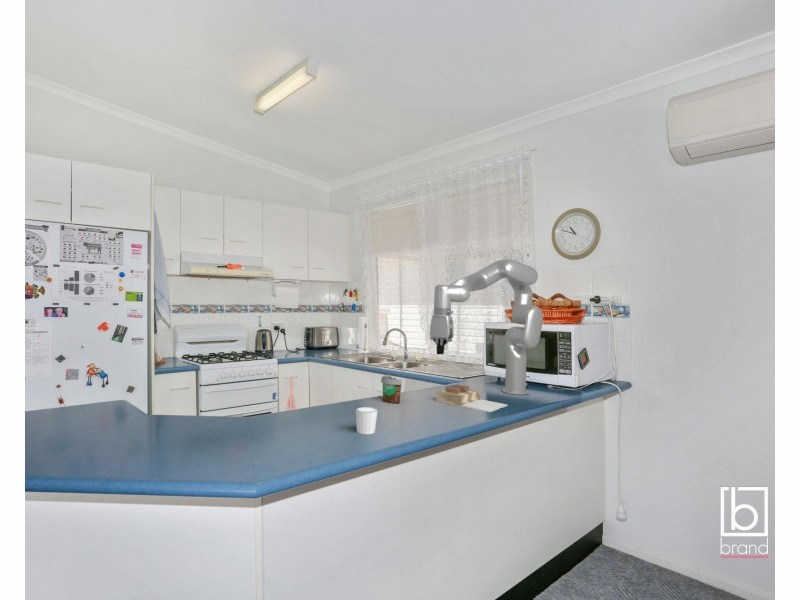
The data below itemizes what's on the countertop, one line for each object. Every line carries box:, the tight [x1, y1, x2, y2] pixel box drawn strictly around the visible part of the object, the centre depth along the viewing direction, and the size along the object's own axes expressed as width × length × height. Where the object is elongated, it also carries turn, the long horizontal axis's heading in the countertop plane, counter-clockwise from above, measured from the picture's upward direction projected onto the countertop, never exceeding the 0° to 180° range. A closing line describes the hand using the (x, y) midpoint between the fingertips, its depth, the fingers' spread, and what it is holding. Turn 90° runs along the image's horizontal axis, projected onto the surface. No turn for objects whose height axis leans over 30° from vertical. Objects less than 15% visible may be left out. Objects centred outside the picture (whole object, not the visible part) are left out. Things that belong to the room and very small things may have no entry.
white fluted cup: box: [355, 406, 379, 435], centre depth 139 cm, size 7×7×7 cm
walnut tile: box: [445, 384, 470, 394], centre depth 189 cm, size 9×6×2 cm, turn 141°
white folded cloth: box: [461, 398, 508, 413], centre depth 180 cm, size 16×12×1 cm
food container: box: [380, 374, 403, 405], centre depth 181 cm, size 12×6×10 cm, turn 25°
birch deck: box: [435, 388, 481, 407], centre depth 188 cm, size 16×12×4 cm
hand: (440, 354), depth 194 cm, fingers closed
